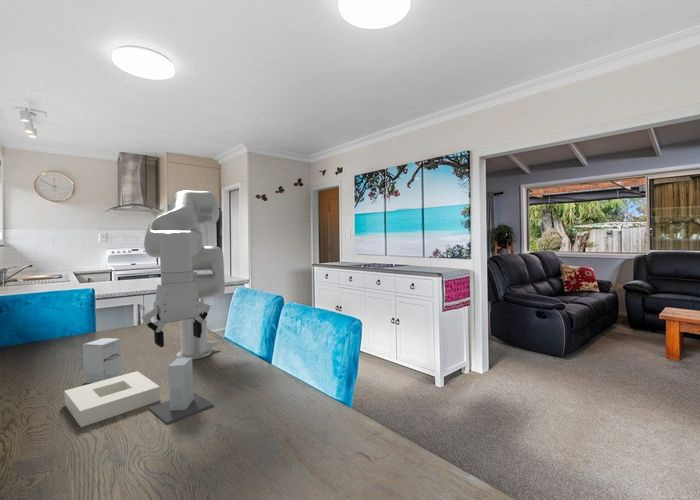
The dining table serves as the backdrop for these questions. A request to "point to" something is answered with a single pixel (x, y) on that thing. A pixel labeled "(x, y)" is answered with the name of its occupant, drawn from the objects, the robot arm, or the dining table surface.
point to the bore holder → (110, 397)
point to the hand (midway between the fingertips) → (179, 341)
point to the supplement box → (101, 360)
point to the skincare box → (181, 383)
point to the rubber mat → (172, 416)
